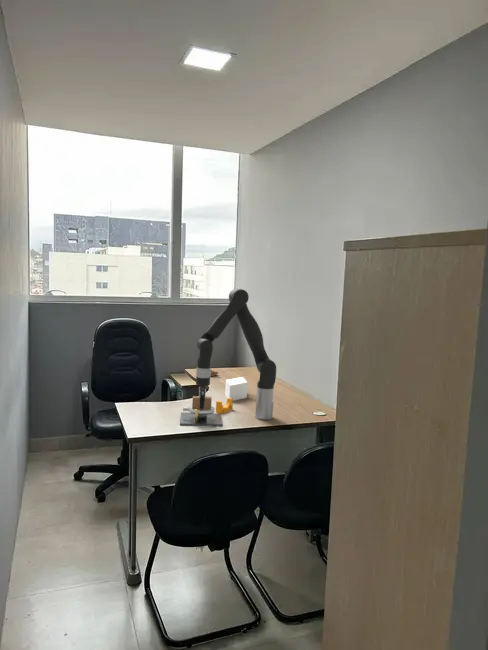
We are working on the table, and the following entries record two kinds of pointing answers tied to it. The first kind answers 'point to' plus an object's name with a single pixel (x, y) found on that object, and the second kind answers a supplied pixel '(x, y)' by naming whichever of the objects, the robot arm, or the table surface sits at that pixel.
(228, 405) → the pipe clamp
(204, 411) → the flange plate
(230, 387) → the white block
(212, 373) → the tan irregular piece
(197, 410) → the dowel pin
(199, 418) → the post base
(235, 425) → the table surface
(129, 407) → the table surface
